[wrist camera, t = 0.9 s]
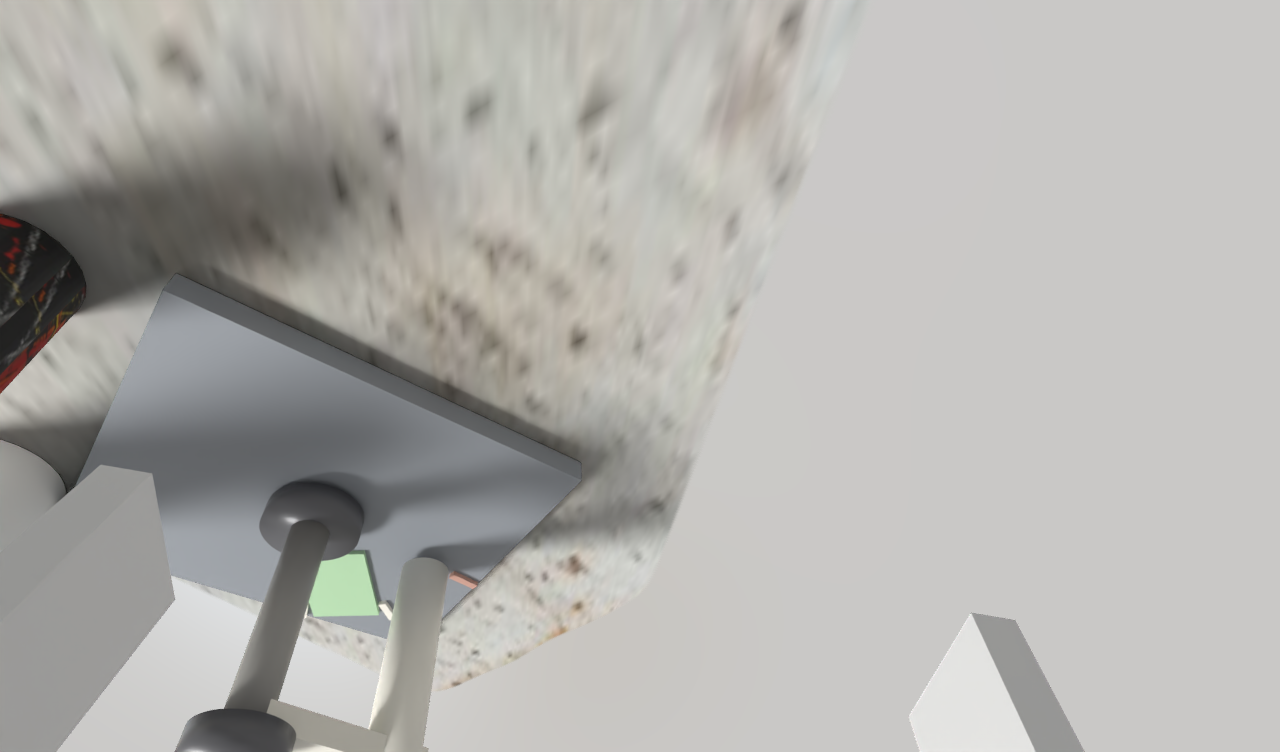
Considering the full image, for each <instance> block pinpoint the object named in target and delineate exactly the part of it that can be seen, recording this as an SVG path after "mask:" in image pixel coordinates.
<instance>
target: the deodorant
mask: <svg viewBox="0 0 1280 752" xmlns="http://www.w3.org/2000/svg"><path fill="white" fill-rule="evenodd" d="M85 296H86V283H85V280H84V276H83V273H82V270H81V269H80V267H79V266H78V264H77V262H76V261H75V259H74V258H73V256H72V255H71V254H70V253H69V252H68V251H67V250H66V249H65V248H64V247H63V246H62V245H61V244H60V243H59V242H57V241H56V240H55V239H53V238H52V237H51V236H49V235H48V234H46V233H45V232H44V231H42V230H40V229H38V228H36V227H34V226H32V225H30V224H28V223H27V222H25V221H22V220H19V219H16V218H13V217H10V216H7V215H3V214H0V394H1V392H2V391H3V390H4V389H5V388H6V387H7V386H8V385H9V384H10V383H11V382H12V381H13V379H14V378H15V377H16V376H17V375H18V374H19V373H20V372H21V371H22V370H23V369H24V368H25V366H26V365H27V364H28V363H29V362H30V361H31V360H32V359H33V358H34V357H35V356H36V355H37V353H38V352H39V351H40V350H41V349H42V348H43V347H44V346H45V345H46V344H47V343H48V342H49V340H50V339H51V338H52V337H53V336H54V335H55V334H56V333H57V332H58V331H59V330H60V329H61V327H62V326H63V325H64V324H65V323H66V322H67V321H68V320H69V319H70V318H71V317H72V316H73V314H74V313H75V312H76V311H77V310H78V309H79V308H80V307H81V305H82V303H83V301H84V299H85Z"/></svg>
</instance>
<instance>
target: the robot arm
mask: <svg viewBox="0 0 1280 752" xmlns="http://www.w3.org/2000/svg"><path fill="white" fill-rule="evenodd" d="M174 600H175V597H174V591H173V586H172V580H171V574H170V569H169V563H168V558H167V552H166V546H165V541H164V535H163V530H162V524H161V519H160V513H159V508H158V502H157V497H156V491H155V486H154V480H153V475H152V473H147V472H141V471H135V470H129V469H123V468H118V467H112V466H106V465H100V466H99V467H97V468H96V469H95V470H94V471H93V472H92V473H91V474H89V475H88V476H87V477H86V478H85V479H84V480H83V481H81V482H80V483H79V484H78V485H77V486H76V487H75V488H73V489H72V490H71V491H70V492H69V493H68V494H67V495H65V496H64V497H63V498H62V499H61V500H60V501H59V502H57V503H56V504H55V505H54V506H53V507H52V508H51V509H49V510H48V511H47V512H46V513H45V514H44V515H43V516H41V517H40V518H39V519H38V520H37V521H36V522H35V523H33V524H32V525H31V526H30V527H29V528H28V529H27V530H25V531H24V532H23V533H22V534H21V535H20V536H19V537H17V538H16V539H15V540H14V541H13V542H12V543H11V544H9V545H8V546H7V547H6V548H5V549H4V550H3V551H1V552H0V752H56V751H57V750H58V749H59V747H60V746H61V745H62V744H63V742H64V741H65V740H66V738H67V737H68V736H69V734H70V733H71V732H72V731H73V729H74V728H75V727H76V725H77V724H78V723H79V722H80V720H81V719H82V718H83V717H84V715H85V714H86V713H87V712H88V710H89V709H90V708H91V706H92V705H93V704H94V703H95V701H96V700H97V699H98V697H99V696H100V695H101V693H102V692H103V691H104V690H105V689H106V687H107V686H108V685H109V683H110V682H111V681H112V680H113V678H114V677H115V676H116V674H117V673H118V672H119V671H120V669H121V668H122V667H123V666H124V664H125V663H126V662H127V660H128V659H129V658H130V656H131V655H132V654H133V653H134V651H135V650H136V649H137V647H138V646H139V645H140V644H141V642H142V641H143V640H144V639H145V637H146V636H147V635H148V633H149V632H150V631H151V630H152V628H153V627H154V625H155V624H156V623H157V622H158V621H159V619H160V618H161V617H162V616H163V614H164V613H165V612H166V611H167V609H168V608H169V607H170V605H171V604H172V603H173V601H174ZM909 720H910V723H911V726H912V729H913V732H914V736H915V739H916V742H917V745H918V748H919V751H920V752H1084V750H1083V748H1082V746H1081V744H1080V742H1079V740H1078V738H1077V736H1076V734H1075V733H1074V731H1073V729H1072V727H1071V725H1070V723H1069V721H1068V719H1067V717H1066V716H1065V714H1064V712H1063V710H1062V708H1061V706H1060V704H1059V702H1058V700H1057V699H1056V697H1055V695H1054V693H1053V691H1052V689H1051V687H1050V685H1049V683H1048V682H1047V680H1046V678H1045V676H1044V674H1043V672H1042V670H1041V668H1040V666H1039V664H1038V662H1037V661H1036V659H1035V657H1034V655H1033V653H1032V651H1031V649H1030V647H1029V645H1028V644H1027V642H1026V640H1025V638H1024V636H1023V634H1022V632H1021V630H1020V628H1019V626H1018V624H1017V623H1016V621H1015V620H1011V619H1005V618H999V617H993V616H988V615H981V614H976V613H970V615H969V617H968V619H967V620H966V622H965V624H964V625H963V627H962V628H961V630H960V632H959V633H958V635H957V637H956V638H955V640H954V642H953V643H952V645H951V647H950V648H949V650H948V652H947V653H946V655H945V657H944V658H943V660H942V662H941V663H940V665H939V667H938V668H937V670H936V672H935V673H934V675H933V677H932V678H931V680H930V682H929V683H928V685H927V687H926V688H925V690H924V692H923V693H922V695H921V697H920V698H919V700H918V702H917V703H916V705H915V707H914V708H913V710H912V712H911V713H910V715H909Z"/></svg>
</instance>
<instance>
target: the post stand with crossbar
mask: <svg viewBox="0 0 1280 752" xmlns="http://www.w3.org/2000/svg"><path fill="white" fill-rule="evenodd" d="M363 524H364V512H363V510H362V508H361V506H360V505H359V503H358V502H357V501H356V500H355V499H354V498H353V497H351V496H350V495H349V494H347V493H345V492H344V491H342V490H339V489H337V488H334V487H332V486H328V485H324V484H318V483H296V484H291V485H288V486H285V487H282V488H280V489H279V490H277V491H276V492H274V493H273V494H272V495H271V497H270V498H269V500H268V502H267V505H266V507H265V509H264V512H263V514H262V517H261V519H260V522H259V529H260V532H261V535H262V537H263V538H264V540H265V541H266V542H267V543H268V544H269V545H270V546H272V547H273V548H274V549H276V550H277V551H279V552H281V555H280V558H279V561H278V564H277V566H276V569H275V572H274V574H273V577H272V580H271V583H270V585H269V588H268V591H267V593H266V596H265V599H264V602H263V604H262V607H261V610H260V612H259V615H258V618H257V621H256V624H255V626H254V629H253V632H252V634H251V637H250V640H249V642H248V645H247V648H246V650H245V653H244V656H243V659H242V661H241V664H240V667H239V670H238V672H237V675H236V678H235V680H234V683H233V686H232V688H231V692H230V694H229V697H228V699H227V702H226V705H225V707H224V709H217V710H211V711H207V712H203V713H200V714H198V715H196V716H194V717H192V718H191V719H190V720H189V721H188V722H187V724H186V725H185V728H184V730H183V733H182V735H181V738H180V740H179V743H178V745H177V748H176V750H175V752H428V748H426V747H423V743H424V735H425V729H426V722H427V716H428V709H429V702H430V695H431V688H432V682H433V675H434V668H435V661H436V654H437V648H438V641H439V634H440V627H441V621H442V614H443V607H444V600H445V593H446V587H447V580H448V573H449V571H448V568H447V566H446V565H445V564H444V563H442V562H441V561H439V560H436V559H433V558H426V557H421V558H414V559H411V560H409V561H407V562H406V563H405V564H404V565H403V567H402V570H401V575H400V580H399V585H398V589H397V594H396V599H395V604H394V609H393V613H392V618H391V623H390V628H389V633H388V637H387V642H386V647H385V652H384V657H383V662H382V666H381V671H380V677H379V681H378V686H377V690H376V695H375V700H374V705H373V710H372V715H371V719H370V724H369V729H366V728H363V727H360V726H357V725H353V724H350V723H347V722H344V721H341V720H337V719H334V718H331V717H328V716H325V715H321V714H318V713H315V712H312V711H309V710H306V709H302V708H299V707H296V706H293V705H290V704H287V703H283V702H280V701H278V699H279V695H280V692H281V689H282V686H283V683H284V679H285V676H286V673H287V670H288V667H289V663H290V660H291V657H292V654H293V651H294V647H295V644H296V641H297V638H298V635H299V631H300V628H301V625H302V622H303V619H304V616H305V612H306V609H307V606H308V603H309V600H310V596H311V593H312V590H313V587H314V584H315V580H316V577H317V574H318V571H319V568H320V564H321V561H327V560H333V559H337V558H340V557H343V556H345V555H347V554H349V553H350V552H351V551H353V550H354V549H355V547H356V546H357V544H358V542H359V538H360V535H361V531H362V527H363Z"/></svg>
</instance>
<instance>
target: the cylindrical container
mask: <svg viewBox="0 0 1280 752" xmlns="http://www.w3.org/2000/svg"><path fill="white" fill-rule="evenodd" d="M65 495H66V489H65V486H64V482H63V481H62V479H61V477H60V476H59V474H58V473H57V472H56V471H55V470H54V469H53V468H52V467H51V466H50V465H49V464H48V463H46V462H45V461H44V460H43V459H41V458H40V457H38V456H37V455H35V454H33V453H32V452H30V451H28V450H26V449H24V448H21V447H19V446H17V445H14V444H11V443H9V442H6V441H3V440H0V552H1V551H3V550H4V549H5V548H6V547H7V546H8V545H9V544H11V543H12V542H13V541H14V540H15V539H16V538H17V537H19V536H20V535H21V534H22V533H23V532H24V531H25V530H27V529H28V528H29V527H30V526H31V525H32V524H33V523H35V522H36V521H37V520H38V519H39V518H40V517H41V516H43V515H44V514H45V513H46V512H47V511H48V510H49V509H51V508H52V507H53V506H54V505H55V504H56V503H57V502H59V501H60V500H61V499H62V498H63V497H64V496H65Z"/></svg>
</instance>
